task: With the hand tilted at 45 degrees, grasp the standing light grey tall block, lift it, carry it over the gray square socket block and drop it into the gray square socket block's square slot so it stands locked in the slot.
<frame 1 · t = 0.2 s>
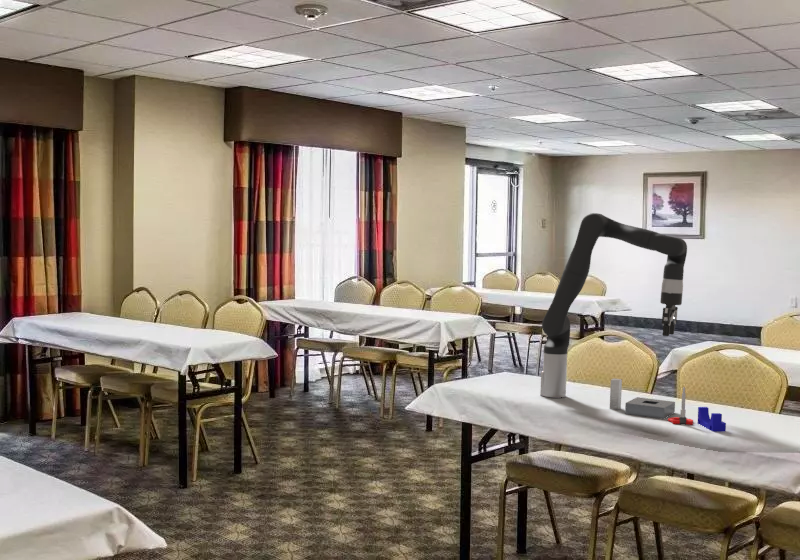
hand: (668, 335, 322), 28 cm above the table, tool pointing down, fingers open, 8 cm apart
cable clip: (711, 428, 296), on the table
gray square socket block: (650, 413, 317), on the table
red grey spiked stand: (680, 422, 304), on the table
light grey tall block: (615, 408, 324), on the table
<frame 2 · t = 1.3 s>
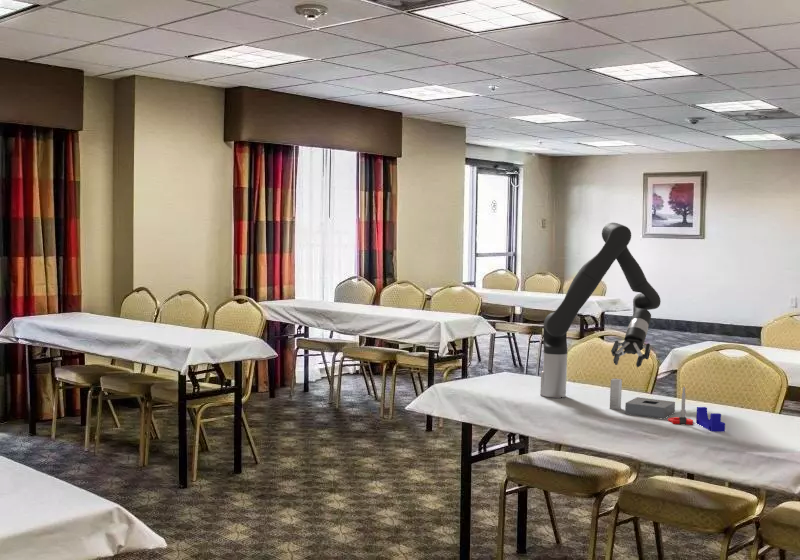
hand: (626, 364, 333), 15 cm above the table, tool tilted 45°, fingers open, 8 cm apart
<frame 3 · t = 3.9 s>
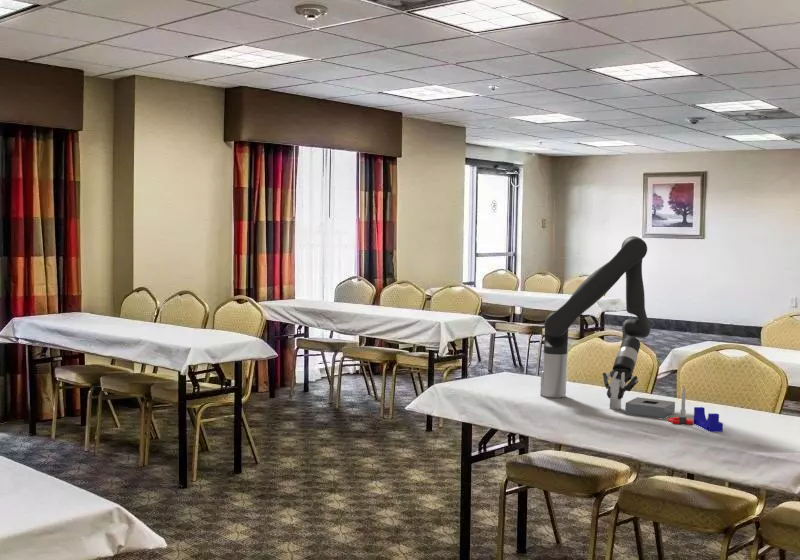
hand: (614, 397, 322), 5 cm above the table, tool tilted 45°, fingers closed on light grey tall block, 3 cm apart
light grey tall block: (615, 408, 324), on the table, touching gripper
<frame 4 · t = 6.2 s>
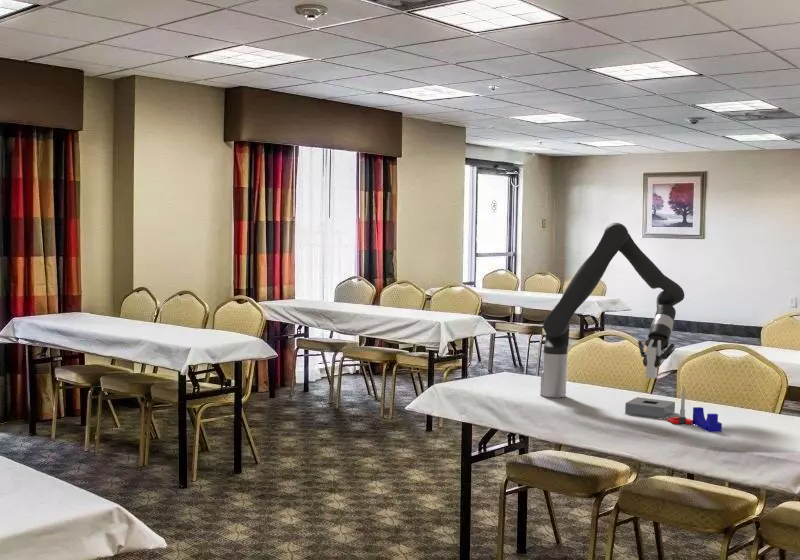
hand: (650, 365, 315), 18 cm above the table, tool tilted 45°, fingers closed on light grey tall block, 3 cm apart
light grey tall block: (651, 377, 317), point 13 cm above the table, touching gripper
when the fingers open (7 cm above the table, at t = 8.4 s): light grey tall block drops 2 cm, resting in gray square socket block.
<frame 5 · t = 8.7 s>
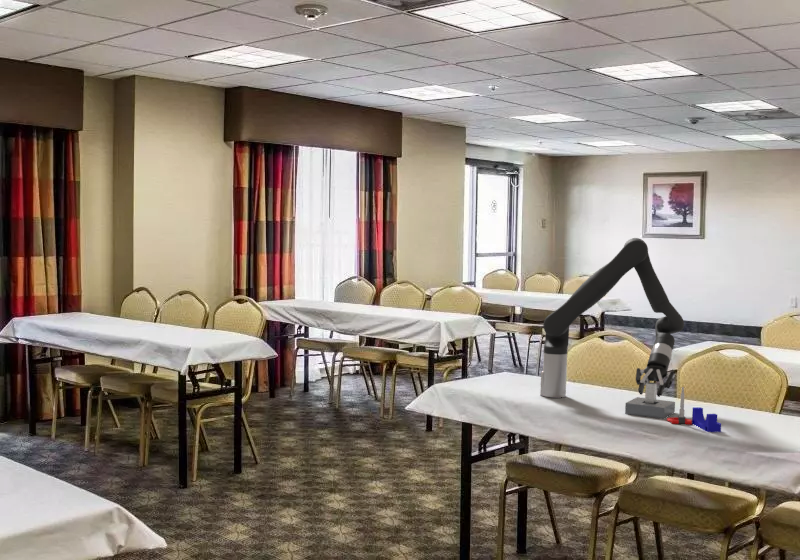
hand: (649, 394, 316), 7 cm above the table, tool tilted 45°, fingers open, 6 cm apart
light grey tall block: (650, 413, 318), resting in gray square socket block
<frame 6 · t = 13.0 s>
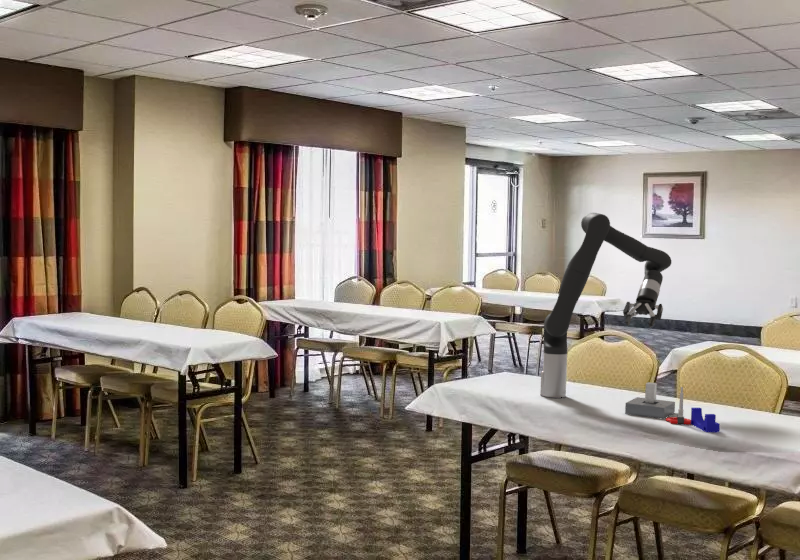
hand: (638, 325, 330), 31 cm above the table, tool tilted 45°, fingers open, 8 cm apart
at the end: light grey tall block 0.1 cm off-centre on the gray square socket block, point 0.0 cm above the gray square socket block's base; light grey tall block tilted 0°; the gripper is holding nothing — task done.
